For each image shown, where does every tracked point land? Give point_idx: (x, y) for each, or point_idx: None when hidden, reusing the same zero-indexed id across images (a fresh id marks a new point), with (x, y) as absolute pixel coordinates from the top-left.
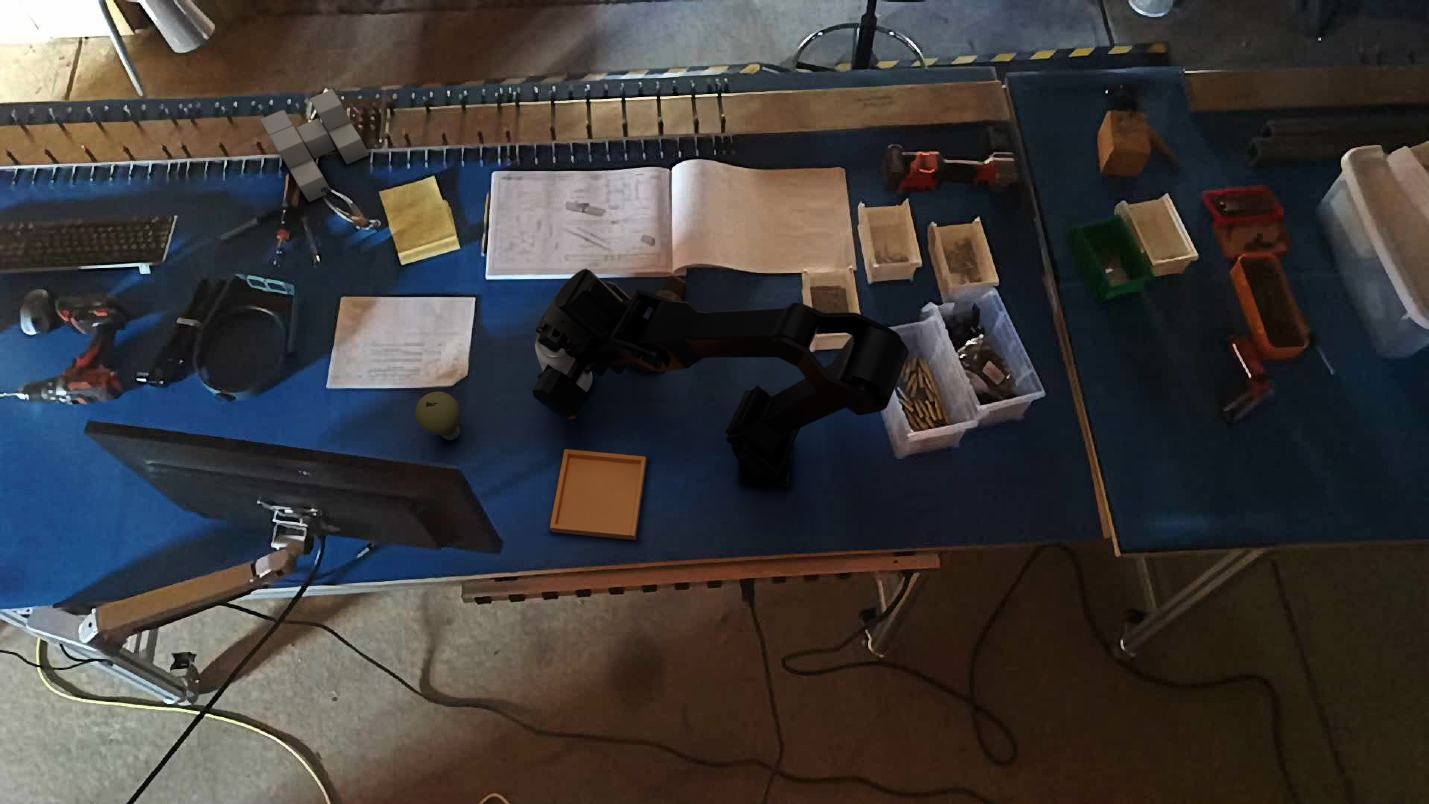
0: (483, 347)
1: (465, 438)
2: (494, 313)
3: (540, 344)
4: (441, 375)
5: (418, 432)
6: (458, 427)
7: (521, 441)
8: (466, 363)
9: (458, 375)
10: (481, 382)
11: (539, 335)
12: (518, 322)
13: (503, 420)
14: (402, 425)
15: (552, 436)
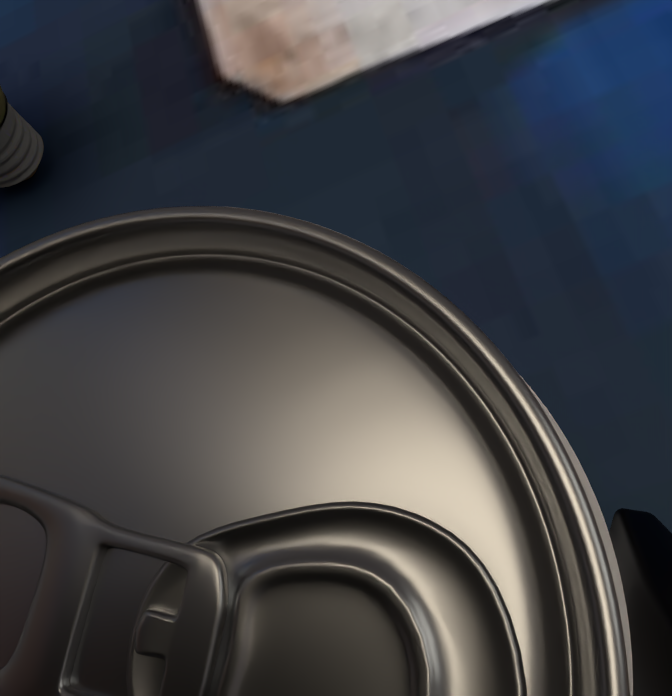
0: (431, 95)
1: (14, 220)
2: (629, 53)
3: (22, 335)
4: (258, 24)
5: (26, 69)
6: (21, 170)
7: None
8: (334, 74)
9: (272, 74)
10: (261, 164)
11: (181, 253)
12: (630, 169)
13: None
14: (47, 16)
15: None
